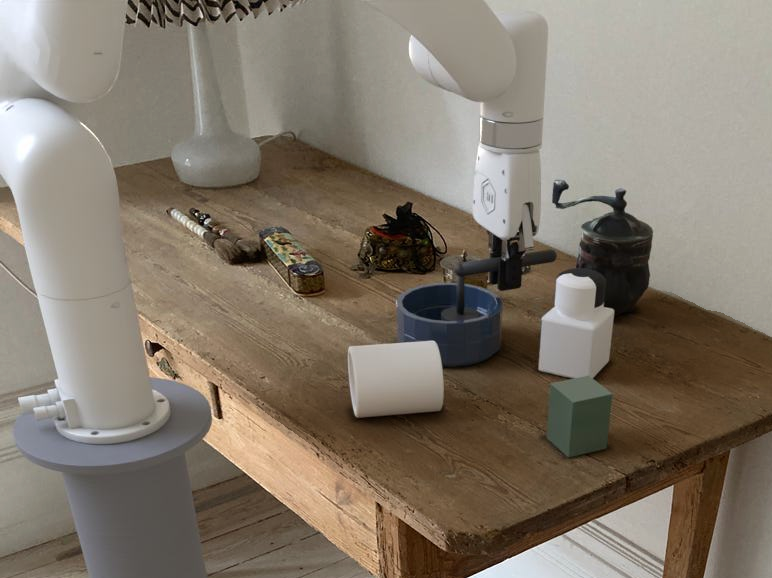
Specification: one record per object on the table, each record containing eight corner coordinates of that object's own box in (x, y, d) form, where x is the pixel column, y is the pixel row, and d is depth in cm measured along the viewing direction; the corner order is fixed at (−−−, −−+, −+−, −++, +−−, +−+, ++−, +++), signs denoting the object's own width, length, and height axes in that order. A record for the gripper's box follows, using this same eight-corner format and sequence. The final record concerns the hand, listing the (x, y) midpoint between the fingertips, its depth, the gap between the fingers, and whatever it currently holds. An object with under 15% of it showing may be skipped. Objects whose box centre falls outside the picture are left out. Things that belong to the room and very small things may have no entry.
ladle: (451, 337, 132) (451, 272, 127) (435, 323, 135) (434, 259, 130) (561, 317, 138) (565, 255, 132) (543, 304, 141) (546, 243, 136)
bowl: (423, 376, 129) (422, 330, 125) (381, 335, 138) (380, 291, 134) (518, 357, 133) (521, 312, 130) (472, 319, 143) (473, 276, 139)
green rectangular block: (568, 457, 114) (573, 402, 109) (546, 437, 117) (550, 383, 113) (606, 448, 115) (612, 393, 111) (583, 429, 119) (588, 375, 115)
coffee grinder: (530, 303, 148) (537, 170, 136) (620, 290, 152) (635, 161, 141) (569, 337, 139) (581, 198, 127) (664, 323, 143) (683, 187, 132)
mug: (444, 423, 119) (444, 357, 114) (358, 430, 117) (354, 364, 112) (425, 378, 128) (424, 316, 123) (345, 384, 126) (341, 321, 121)
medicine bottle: (558, 350, 135) (565, 259, 128) (609, 362, 133) (619, 269, 125) (537, 371, 130) (543, 277, 123) (589, 383, 128) (598, 288, 120)
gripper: (454, 120, 126) (453, 269, 138) (513, 152, 116) (507, 312, 127) (508, 114, 129) (503, 262, 141) (571, 146, 118) (559, 303, 130)
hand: (505, 284), depth 134 cm, fingers closed on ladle
